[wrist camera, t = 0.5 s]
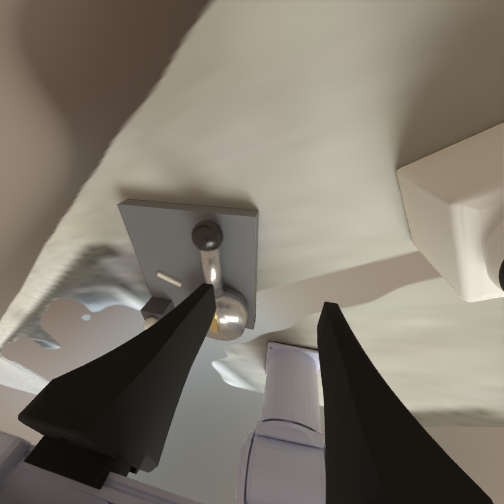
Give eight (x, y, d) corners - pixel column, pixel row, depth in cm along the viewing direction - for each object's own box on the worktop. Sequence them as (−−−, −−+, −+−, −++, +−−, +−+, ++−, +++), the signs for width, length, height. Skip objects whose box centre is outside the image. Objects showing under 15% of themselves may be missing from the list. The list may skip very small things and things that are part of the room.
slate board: (255, 320, 28) (252, 331, 26) (163, 303, 30) (156, 313, 29) (258, 210, 19) (254, 218, 17) (127, 199, 21) (114, 205, 20)
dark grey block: (176, 315, 28) (161, 340, 25) (157, 311, 29) (139, 335, 26) (172, 300, 27) (154, 324, 24) (152, 296, 27) (132, 320, 24)
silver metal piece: (249, 327, 26) (244, 348, 24) (199, 318, 27) (189, 337, 25) (249, 218, 18) (241, 234, 15) (176, 211, 19) (158, 225, 16)
